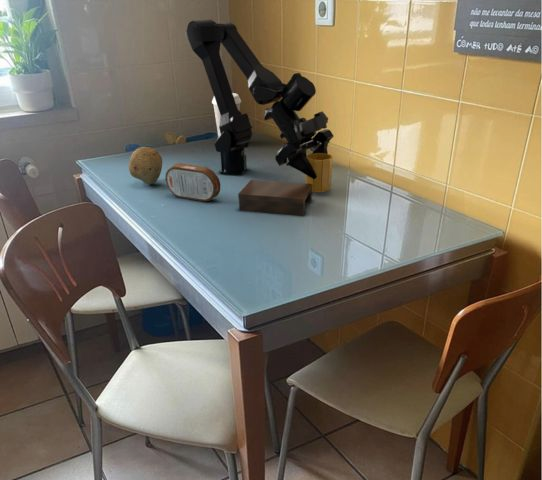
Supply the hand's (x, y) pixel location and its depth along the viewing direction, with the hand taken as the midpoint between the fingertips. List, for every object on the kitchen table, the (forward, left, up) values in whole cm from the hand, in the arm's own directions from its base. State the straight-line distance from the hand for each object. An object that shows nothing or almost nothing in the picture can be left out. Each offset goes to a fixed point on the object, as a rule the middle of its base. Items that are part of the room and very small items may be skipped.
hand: (323, 174), depth 139 cm
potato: (-48, -3, -5) cm, 49 cm away
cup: (-1, +1, -4) cm, 4 cm away
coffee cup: (-40, +42, -5) cm, 58 cm away
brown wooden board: (-10, -11, -5) cm, 15 cm away
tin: (-32, -11, -5) cm, 34 cm away
